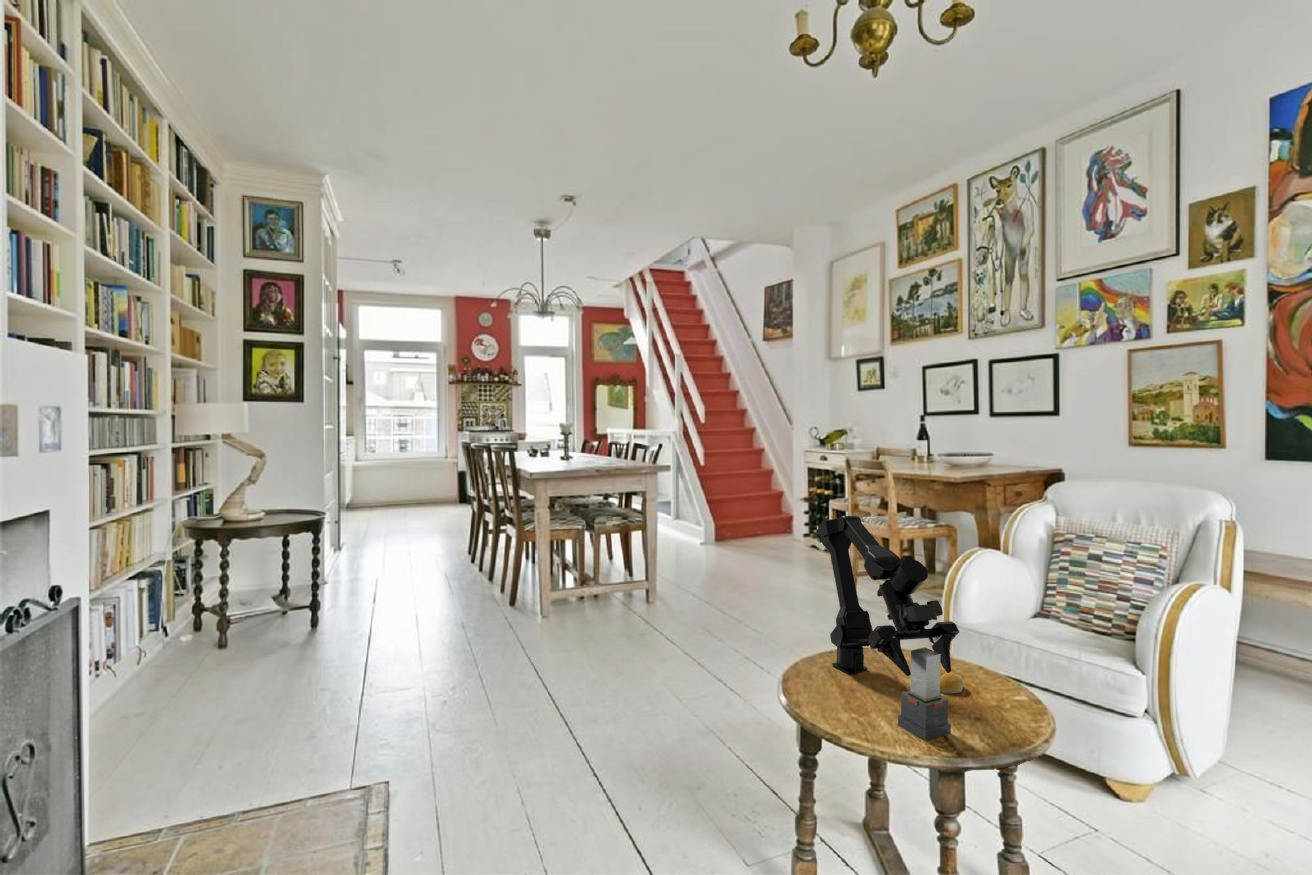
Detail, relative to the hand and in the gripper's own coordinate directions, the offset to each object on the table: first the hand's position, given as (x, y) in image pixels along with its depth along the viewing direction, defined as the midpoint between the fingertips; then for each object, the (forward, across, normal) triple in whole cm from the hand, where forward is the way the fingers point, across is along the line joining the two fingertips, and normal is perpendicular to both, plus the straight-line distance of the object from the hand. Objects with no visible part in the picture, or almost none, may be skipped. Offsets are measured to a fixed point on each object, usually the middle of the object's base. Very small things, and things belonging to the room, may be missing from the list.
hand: (929, 673), depth 131 cm
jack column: (+4, 0, +6) cm, 7 cm away
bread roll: (-5, +17, +23) cm, 29 cm away
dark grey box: (+8, 0, +10) cm, 12 cm away
